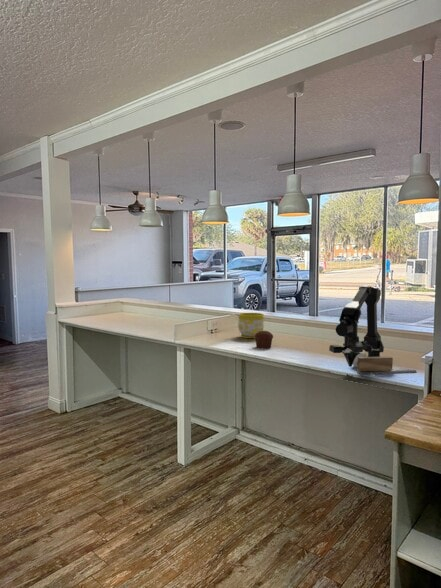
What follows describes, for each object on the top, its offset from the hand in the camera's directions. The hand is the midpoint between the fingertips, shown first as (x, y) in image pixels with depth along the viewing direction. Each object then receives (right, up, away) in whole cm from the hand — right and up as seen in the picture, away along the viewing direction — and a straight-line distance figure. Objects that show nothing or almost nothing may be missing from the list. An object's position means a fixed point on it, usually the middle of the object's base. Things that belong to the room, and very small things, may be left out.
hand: (350, 366), depth 192 cm
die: (+9, -3, +13) cm, 16 cm away
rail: (+18, -3, +3) cm, 19 cm away
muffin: (-34, +1, +63) cm, 71 cm away
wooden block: (+12, -2, +2) cm, 13 cm away
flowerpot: (-39, +3, +97) cm, 105 cm away
